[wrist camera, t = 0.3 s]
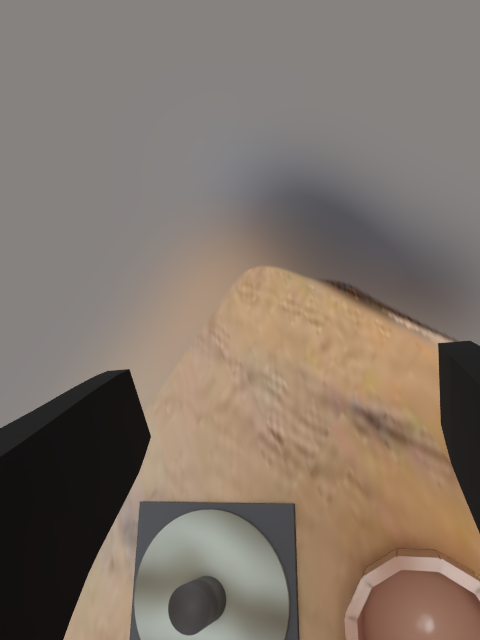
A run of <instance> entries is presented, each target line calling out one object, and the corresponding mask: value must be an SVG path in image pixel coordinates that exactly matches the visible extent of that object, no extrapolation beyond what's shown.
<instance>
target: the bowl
mask: <svg viewBox="0 0 480 640" xmlns="http://www.w3.org/2000/svg"><path fill="white" fill-rule="evenodd" d="M344 621H345V637H346V640H480V579H479V578H478V577H477V576H476V575H475V573H474V572H472V571H470V570H469V569H467V568H465V567H464V566H462V565H460V564H459V563H457V562H455V561H453V560H452V559H450V558H448V557H447V556H445V555H443V554H442V553H440V552H438V551H437V550H436V551H435V550H422V549H398V550H397V549H395V550H394V551H392V552H391V553H389V554H387V555H386V556H384V557H382V558H381V559H379V560H377V561H376V562H374V563H372V564H371V565H369V566H368V567H367V568H366V570H365V572H364V574H363V576H362V578H361V580H360V583H359V585H358V587H357V589H356V591H355V593H354V596H353V598H352V600H351V602H350V604H349V606H348V609H347V611H346V613H345V616H344Z"/></svg>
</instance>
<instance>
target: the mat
mask: <svg viewBox="0 0 480 640" xmlns="http://www.w3.org/2000/svg"><path fill="white" fill-rule="evenodd" d="M209 509H215V510H223V511H227V512H231V513H234V514H236V515H238V516H241V517H242V518H244V519H246V520H248V521H249V522H250V523H252V524H253V525H254V526H256V527H257V528H258V529H259V530H260V531H261V532H262V533H263V534H264V535H265V536H266V538H267V539H268V540H269V542H270V543H271V544H272V546H273V548H274V549H275V551H276V553H277V554H278V556H279V559H280V561H281V563H282V565H283V568H284V571H285V575H286V578H287V583H288V588H289V596H290V618H289V625H288V631H287V634H286V638H285V640H299V619H298V590H297V561H296V531H295V504H266V503H191V502H140V508H139V522H138V535H137V548H136V562H135V575H134V589H133V602H132V615H131V629H130V640H140V636H139V633H138V629H137V624H136V619H135V608H134V593H135V585H136V579H137V575H138V570H139V567H140V564H141V562H142V559H143V557H144V555H145V553H146V550H147V549H148V547H149V545H150V544H151V542H152V541H153V539H154V538H155V537H156V536H157V534H158V533H159V532H160V531H161V530H162V529H163V528H164V527H165V526H166V525H168V524H169V523H170V522H172V521H173V520H175V519H176V518H178V517H180V516H182V515H184V514H187V513H190V512H194V511H198V510H209Z"/></svg>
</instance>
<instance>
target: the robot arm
mask: <svg viewBox="0 0 480 640" xmlns="http://www.w3.org/2000/svg"><path fill="white" fill-rule="evenodd" d="M438 348H439V379H440V410H441V426H442V430H443V434H444V438H445V442H446V446H447V449H448V453H449V457H450V460H451V464H452V467H453V469H454V472H455V474H456V477H457V479H458V482H459V484H460V487H461V489H462V491H463V494H464V496H465V499H466V501H467V504H468V506H469V508H470V511H471V513H472V516H473V518H474V521H475V523H476V525H477V528H478V530H479V533H480V346H479V345H477V344H475V343H473V342H471V341H461V342H449V343H438ZM150 438H151V435H150V432H149V429H148V426H147V423H146V420H145V417H144V413H143V410H142V407H141V404H140V401H139V398H138V395H137V392H136V389H135V385H134V382H133V379H132V376H131V373H130V370H129V369H128V370H115V371H107V372H104V373H102V374H99V375H97V376H95V377H93V378H91V379H89V380H87V381H85V382H83V383H81V384H79V385H78V386H76V387H74V388H72V389H70V390H69V391H67V392H65V393H63V394H61V395H60V396H58V397H56V398H55V399H53V400H51V401H50V402H48V403H46V404H44V405H42V406H41V407H39V408H37V409H35V410H34V411H32V412H30V413H28V414H26V415H24V416H22V417H21V418H19V419H17V420H15V421H13V422H11V423H9V424H8V425H6V426H4V427H2V428H0V640H63V639H64V636H65V633H66V630H67V628H68V625H69V622H70V619H71V616H72V614H73V611H74V609H75V606H76V604H77V601H78V599H79V596H80V593H81V591H82V588H83V586H84V583H85V581H86V578H87V576H88V573H89V571H90V569H91V567H92V565H93V562H94V560H95V558H96V556H97V554H98V552H99V550H100V548H101V546H102V544H103V542H104V540H105V538H106V536H107V534H108V532H109V530H110V529H111V527H112V525H113V523H114V521H115V519H116V517H117V515H118V513H119V511H120V509H121V507H122V505H123V503H124V501H125V499H126V497H127V495H128V493H129V491H130V489H131V487H132V485H133V483H134V481H135V479H136V477H137V475H138V473H139V471H140V468H141V465H142V462H143V460H144V457H145V454H146V451H147V447H148V444H149V441H150Z"/></svg>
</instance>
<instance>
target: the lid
mask: <svg viewBox="0 0 480 640" xmlns="http://www.w3.org/2000/svg"><path fill="white" fill-rule="evenodd" d="M134 608H135V619H136V624H137V629H138V633H139V636H140V640H285V638H286V634H287V631H288V625H289V618H290V596H289V588H288V583H287V578H286V575H285V571H284V568H283V565H282V563H281V561H280V559H279V556H278V554H277V553H276V551H275V549H274V548H273V546H272V544H271V543H270V542H269V540H268V539H267V538H266V536H265V535H264V534H263V533H262V532H261V531H260V530H259V529H258V528H257V527H256V526H254V525H253V524H252V523H250V522H249V521H248V520H246V519H244V518H242V517H241V516H238V515H236V514H234V513H231V512H227V511H223V510H215V509H209V510H198V511H194V512H190V513H187V514H184V515H182V516H180V517H178V518H176V519H175V520H173V521H172V522H170V523H169V524H168V525H166V526H165V527H164V528H163V529H162V530H161V531H160V532H159V533H158V534H157V536H156V537H155V538H154V539H153V541H152V542H151V544H150V545H149V547H148V549H147V550H146V553H145V555H144V557H143V559H142V562H141V564H140V567H139V570H138V575H137V579H136V585H135V593H134Z"/></svg>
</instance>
